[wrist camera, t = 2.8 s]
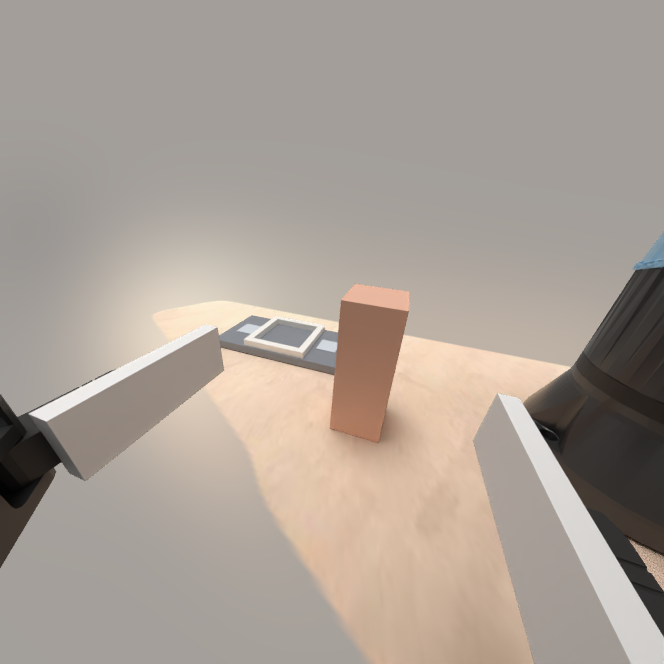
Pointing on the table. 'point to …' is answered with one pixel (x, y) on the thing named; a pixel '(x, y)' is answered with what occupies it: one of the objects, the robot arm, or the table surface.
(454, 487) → the table surface
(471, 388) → the table surface
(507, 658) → the table surface
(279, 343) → the base board
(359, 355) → the terracotta pillar
